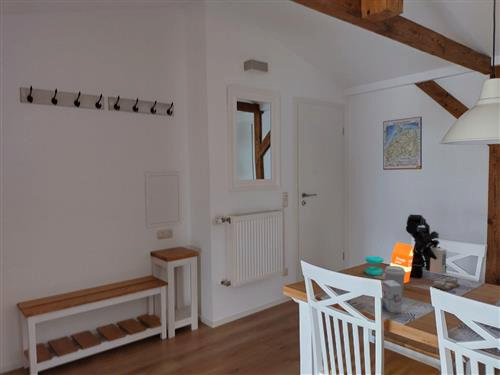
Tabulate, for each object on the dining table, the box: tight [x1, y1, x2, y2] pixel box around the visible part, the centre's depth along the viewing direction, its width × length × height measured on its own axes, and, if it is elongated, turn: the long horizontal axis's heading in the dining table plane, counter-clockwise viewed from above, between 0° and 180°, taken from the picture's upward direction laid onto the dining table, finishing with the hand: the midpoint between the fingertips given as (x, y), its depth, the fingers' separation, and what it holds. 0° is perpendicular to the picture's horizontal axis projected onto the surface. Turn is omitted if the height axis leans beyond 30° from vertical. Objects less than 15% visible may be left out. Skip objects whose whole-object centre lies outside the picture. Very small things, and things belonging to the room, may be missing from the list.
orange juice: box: [389, 242, 414, 284], centre depth 204 cm, size 8×9×20 cm
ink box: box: [382, 280, 402, 314], centre depth 162 cm, size 9×5×12 cm, turn 5°
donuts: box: [364, 255, 384, 277], centre depth 219 cm, size 10×10×10 cm
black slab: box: [422, 246, 447, 273], centre depth 225 cm, size 4×13×15 cm, turn 47°
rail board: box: [431, 276, 460, 292], centre depth 193 cm, size 14×7×4 cm, turn 125°
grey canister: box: [383, 265, 406, 302], centre depth 175 cm, size 10×10×15 cm
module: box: [429, 247, 447, 276], centre depth 199 cm, size 6×4×13 cm
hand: (438, 258), depth 199 cm, fingers closed on module, 5 cm apart
